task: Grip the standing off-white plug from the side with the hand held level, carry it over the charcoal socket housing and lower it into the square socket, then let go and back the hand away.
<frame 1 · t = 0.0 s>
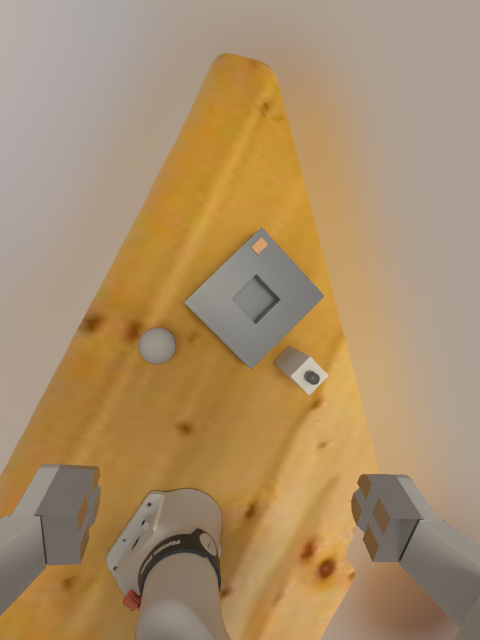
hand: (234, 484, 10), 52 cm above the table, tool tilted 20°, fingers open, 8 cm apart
light bulb: (161, 340, 61), on the table
socket housing: (250, 299, 63), on the table
plug: (288, 361, 64), on the table
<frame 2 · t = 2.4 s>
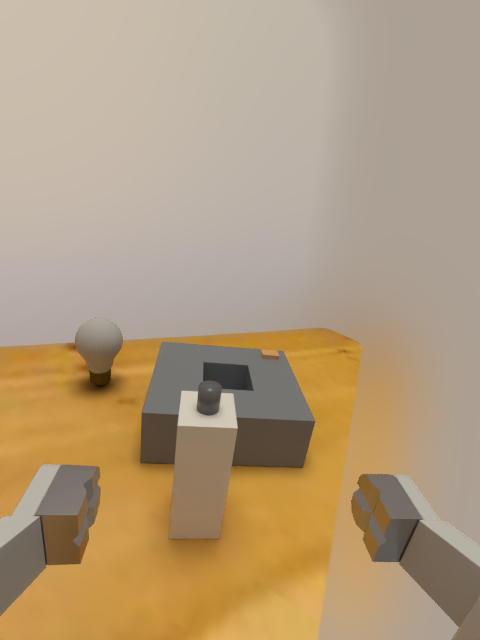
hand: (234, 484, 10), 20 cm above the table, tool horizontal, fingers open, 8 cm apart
light bulb: (100, 385, 47), on the table
socket housing: (221, 417, 44), on the table
plug: (195, 515, 31), on the table
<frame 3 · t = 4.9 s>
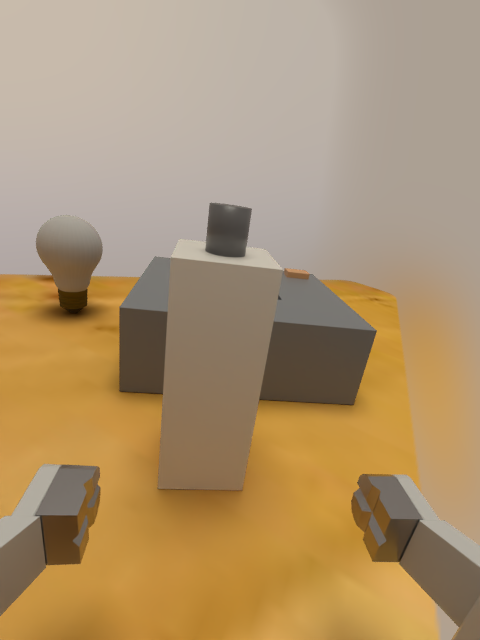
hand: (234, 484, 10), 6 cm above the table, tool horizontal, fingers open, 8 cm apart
light bulb: (74, 313, 36), on the table
socket housing: (234, 349, 33), on the table
plug: (201, 457, 19), on the table
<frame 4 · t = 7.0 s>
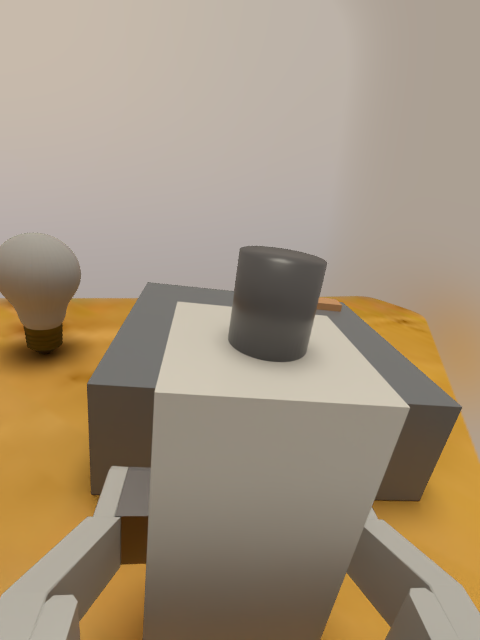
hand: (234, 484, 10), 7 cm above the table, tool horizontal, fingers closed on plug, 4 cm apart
light bulb: (46, 354, 29), on the table
socket housing: (249, 406, 25), on the table
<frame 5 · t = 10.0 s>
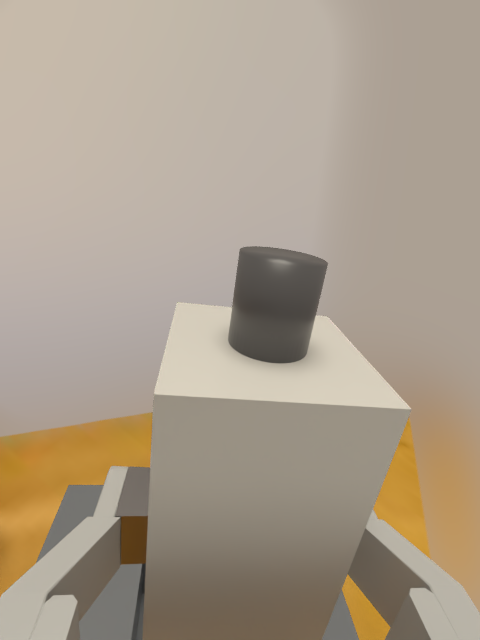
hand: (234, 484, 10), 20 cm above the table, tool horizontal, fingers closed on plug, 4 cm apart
when the fingers open (11 cm above the table, at t = 13.0 s): plug drops 1 cm, resting on socket housing.
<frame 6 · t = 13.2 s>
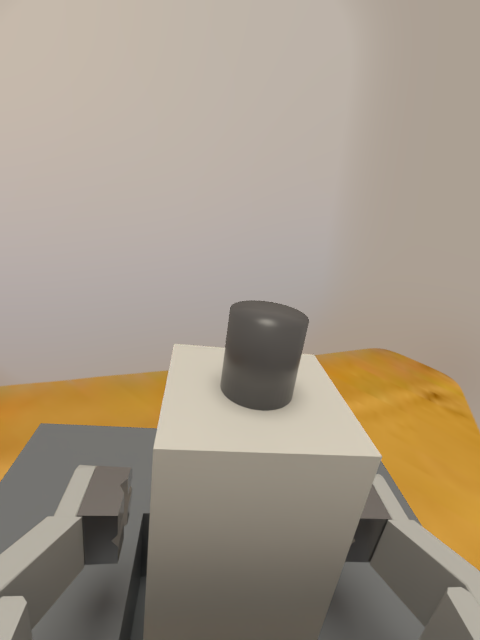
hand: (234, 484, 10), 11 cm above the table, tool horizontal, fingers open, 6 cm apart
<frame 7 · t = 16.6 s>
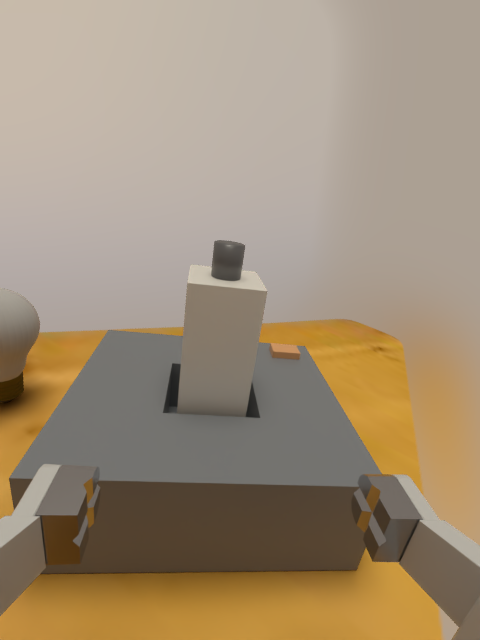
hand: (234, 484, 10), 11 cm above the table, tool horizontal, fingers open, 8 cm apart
light bulb: (7, 401, 29), on the table
socket housing: (203, 459, 25), on the table
plug: (206, 434, 25), point 2 cm above the table, touching socket housing
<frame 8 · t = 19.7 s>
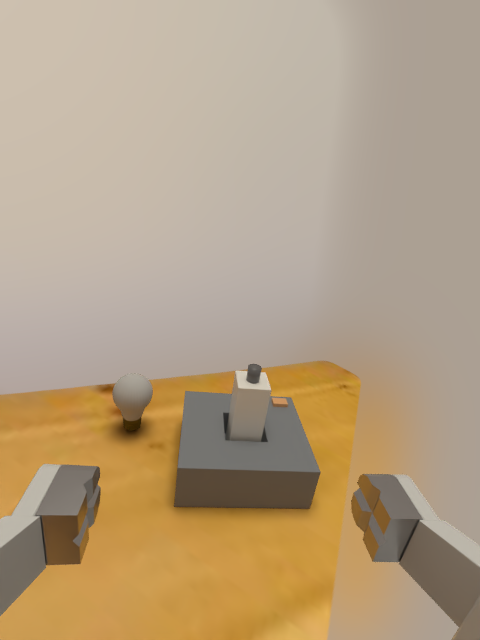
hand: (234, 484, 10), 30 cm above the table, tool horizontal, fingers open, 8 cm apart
light bulb: (132, 429, 54), on the table
socket housing: (238, 460, 51), on the table
plug: (240, 448, 50), point 2 cm above the table, touching socket housing
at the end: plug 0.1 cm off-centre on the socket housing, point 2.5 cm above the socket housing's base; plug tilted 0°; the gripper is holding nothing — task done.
